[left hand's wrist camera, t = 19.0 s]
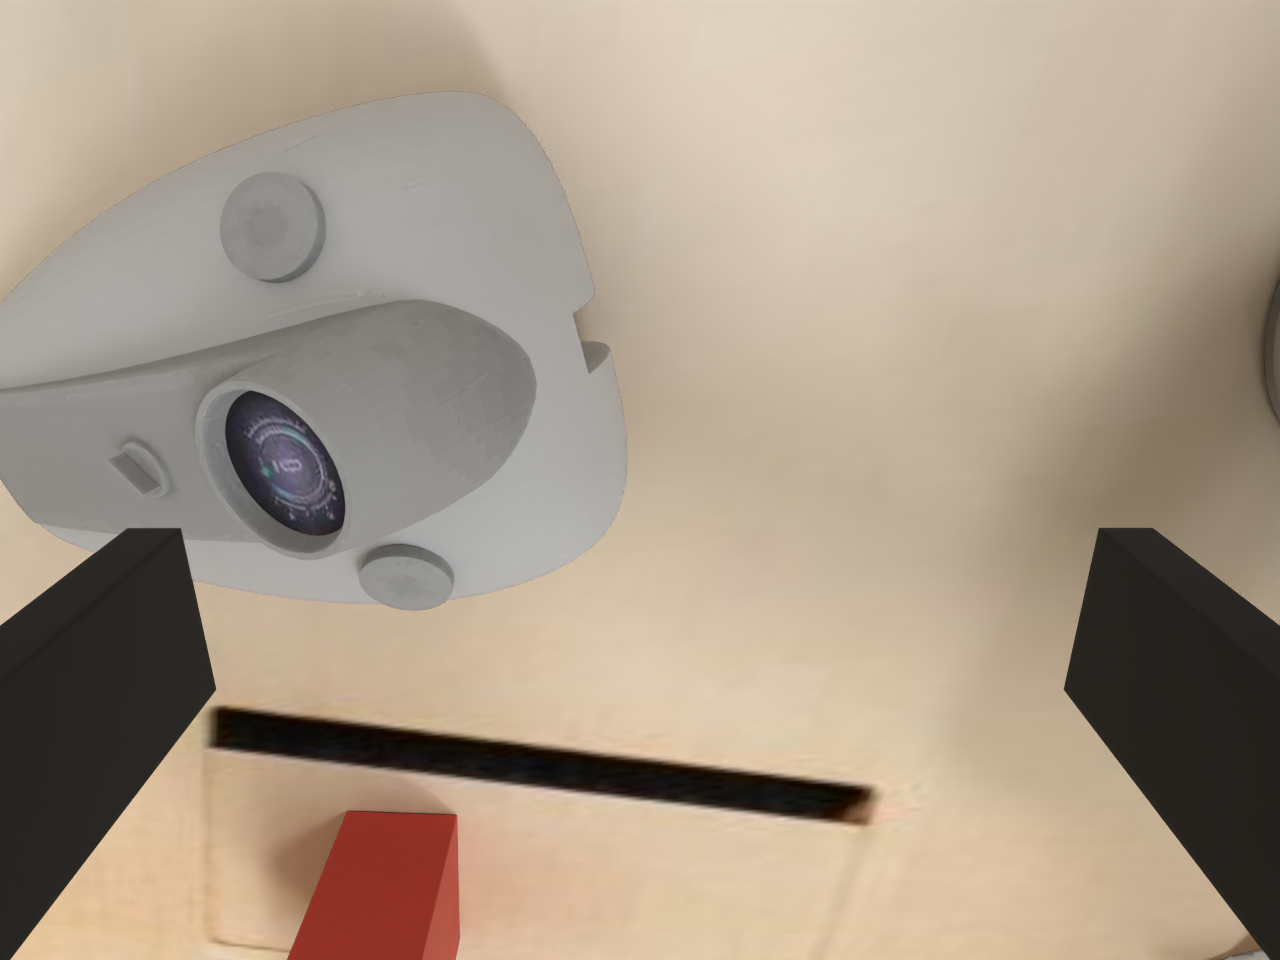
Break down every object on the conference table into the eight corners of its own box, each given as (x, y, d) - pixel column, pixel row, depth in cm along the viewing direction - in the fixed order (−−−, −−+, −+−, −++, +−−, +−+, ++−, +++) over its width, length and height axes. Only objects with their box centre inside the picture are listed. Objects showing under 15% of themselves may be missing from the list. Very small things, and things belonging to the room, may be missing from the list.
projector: (140, -113, 28) (-323, -343, 14) (748, 241, 32) (838, 324, 19) (-22, 455, 35) (-432, 664, 21) (494, 679, 39) (426, 970, 26)
